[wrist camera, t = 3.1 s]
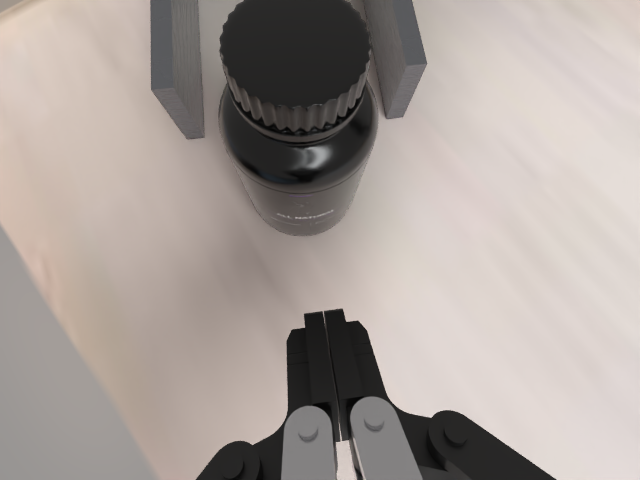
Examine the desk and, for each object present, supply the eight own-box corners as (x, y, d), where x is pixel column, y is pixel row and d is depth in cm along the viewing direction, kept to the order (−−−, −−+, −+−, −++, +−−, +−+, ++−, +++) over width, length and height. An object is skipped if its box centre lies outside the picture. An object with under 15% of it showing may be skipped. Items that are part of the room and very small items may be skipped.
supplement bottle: (296, 260, 20) (272, 187, 9) (232, 183, 21) (134, 27, 10) (374, 195, 21) (448, 53, 10) (310, 126, 22) (306, -76, 11)
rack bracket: (402, 117, 23) (427, 63, 18) (187, 139, 22) (151, 89, 17) (371, -33, 26) (384, -113, 21) (181, -18, 25) (149, -98, 20)
